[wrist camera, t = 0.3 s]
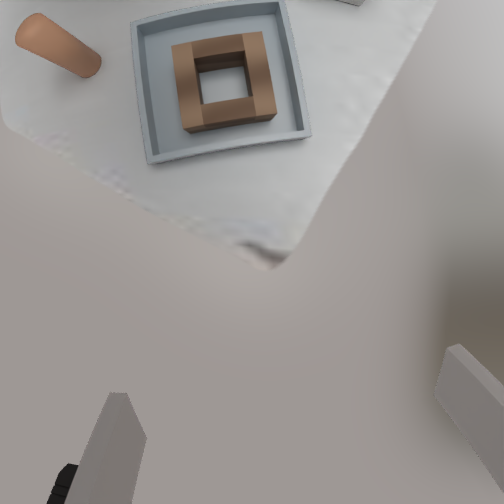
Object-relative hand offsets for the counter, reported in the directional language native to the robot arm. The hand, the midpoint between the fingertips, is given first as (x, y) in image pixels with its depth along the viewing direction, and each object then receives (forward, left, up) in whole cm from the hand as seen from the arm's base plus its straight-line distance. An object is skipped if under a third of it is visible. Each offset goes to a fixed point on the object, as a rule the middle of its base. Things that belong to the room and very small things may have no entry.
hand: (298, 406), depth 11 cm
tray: (-19, -1, -27) cm, 33 cm away
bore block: (-18, -1, -27) cm, 32 cm away
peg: (-26, -17, -27) cm, 41 cm away
